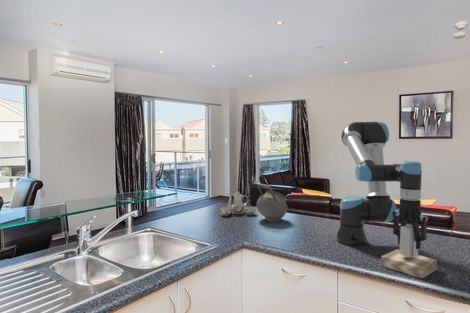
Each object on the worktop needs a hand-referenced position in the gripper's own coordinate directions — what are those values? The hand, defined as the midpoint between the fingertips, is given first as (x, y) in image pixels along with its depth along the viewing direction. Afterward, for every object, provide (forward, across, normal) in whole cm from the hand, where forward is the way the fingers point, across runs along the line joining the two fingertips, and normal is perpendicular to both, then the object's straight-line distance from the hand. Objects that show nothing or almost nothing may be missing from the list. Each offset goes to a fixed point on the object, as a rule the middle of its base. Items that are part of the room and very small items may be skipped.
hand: (408, 254), depth 130 cm
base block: (+6, 0, 0) cm, 6 cm away
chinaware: (+6, -120, +3) cm, 120 cm away
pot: (+6, -91, +9) cm, 92 cm away
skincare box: (0, 0, 0) cm, 0 cm away
